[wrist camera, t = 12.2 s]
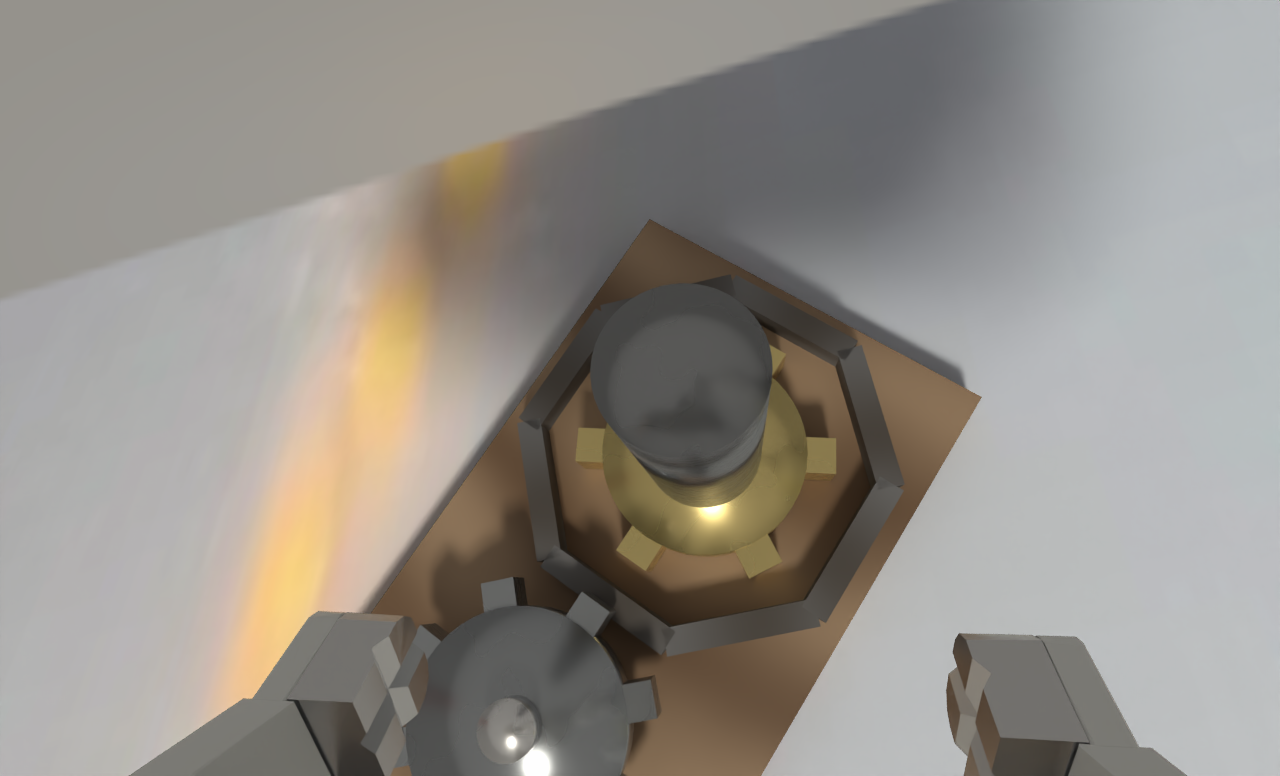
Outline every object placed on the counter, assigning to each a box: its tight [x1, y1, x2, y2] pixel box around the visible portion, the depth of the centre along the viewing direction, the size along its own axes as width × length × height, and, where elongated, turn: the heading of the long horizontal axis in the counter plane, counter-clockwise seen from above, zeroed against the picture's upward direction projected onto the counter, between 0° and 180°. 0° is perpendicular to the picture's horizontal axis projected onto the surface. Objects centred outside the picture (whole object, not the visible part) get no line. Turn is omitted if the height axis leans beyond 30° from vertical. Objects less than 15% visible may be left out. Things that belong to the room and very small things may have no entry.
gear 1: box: [394, 577, 662, 776], centre depth 20 cm, size 8×8×3 cm
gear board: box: [371, 219, 981, 776], centre depth 23 cm, size 22×13×2 cm, turn 146°
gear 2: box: [575, 283, 836, 579], centre depth 19 cm, size 8×8×10 cm
